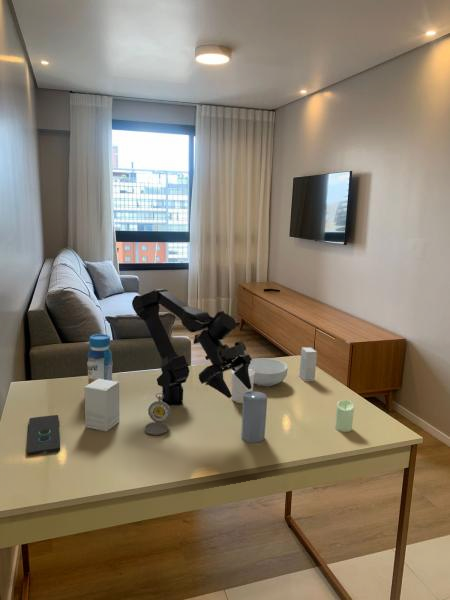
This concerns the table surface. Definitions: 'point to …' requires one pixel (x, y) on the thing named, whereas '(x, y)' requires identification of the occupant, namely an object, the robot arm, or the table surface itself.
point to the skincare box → (308, 364)
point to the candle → (344, 416)
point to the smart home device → (43, 435)
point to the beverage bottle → (99, 358)
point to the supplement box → (102, 404)
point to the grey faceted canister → (254, 416)
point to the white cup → (240, 386)
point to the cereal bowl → (268, 371)
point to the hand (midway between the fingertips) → (240, 392)
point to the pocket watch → (158, 425)
